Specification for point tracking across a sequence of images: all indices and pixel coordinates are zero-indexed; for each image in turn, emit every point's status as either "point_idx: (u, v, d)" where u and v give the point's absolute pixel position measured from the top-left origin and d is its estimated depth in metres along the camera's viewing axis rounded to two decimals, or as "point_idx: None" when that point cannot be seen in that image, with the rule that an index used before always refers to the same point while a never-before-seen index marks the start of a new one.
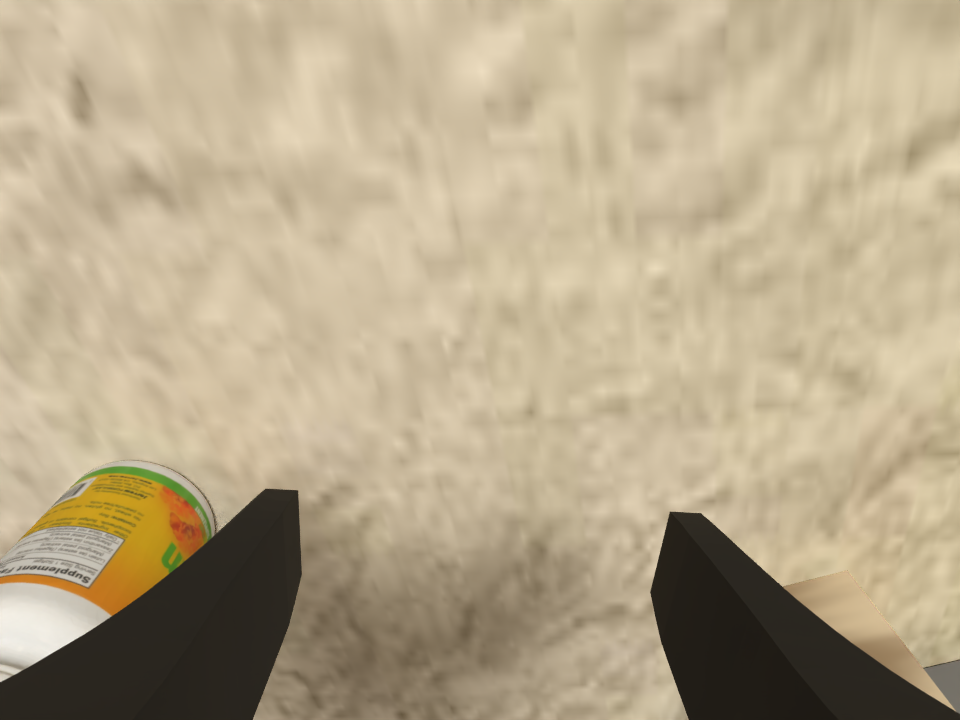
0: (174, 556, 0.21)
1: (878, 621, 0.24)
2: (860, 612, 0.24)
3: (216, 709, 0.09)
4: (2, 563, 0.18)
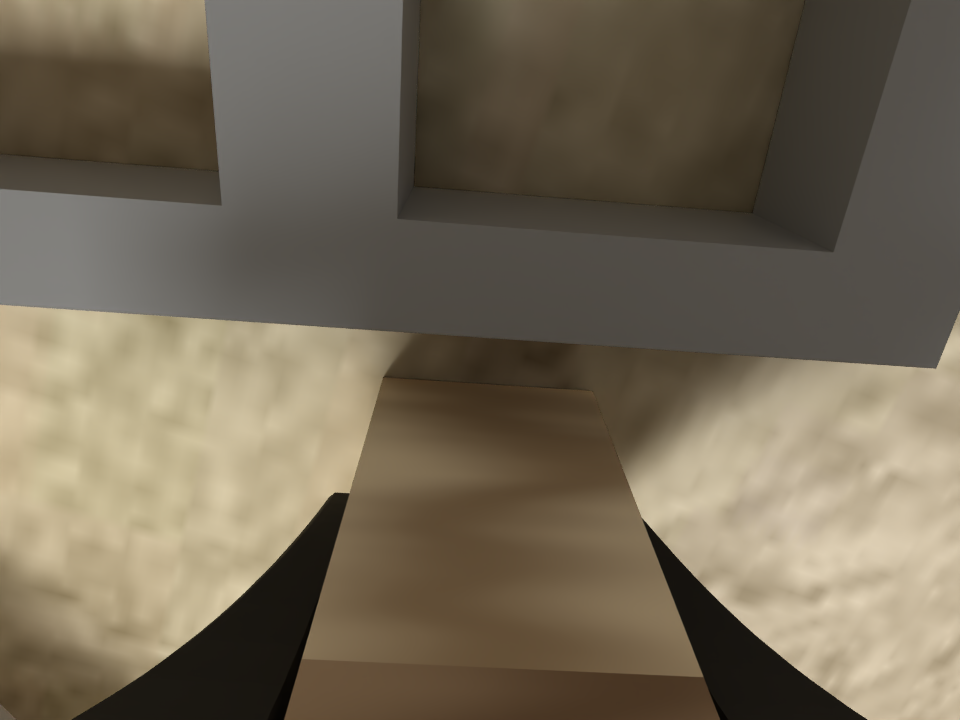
0: None
1: None
2: None
3: None
4: None
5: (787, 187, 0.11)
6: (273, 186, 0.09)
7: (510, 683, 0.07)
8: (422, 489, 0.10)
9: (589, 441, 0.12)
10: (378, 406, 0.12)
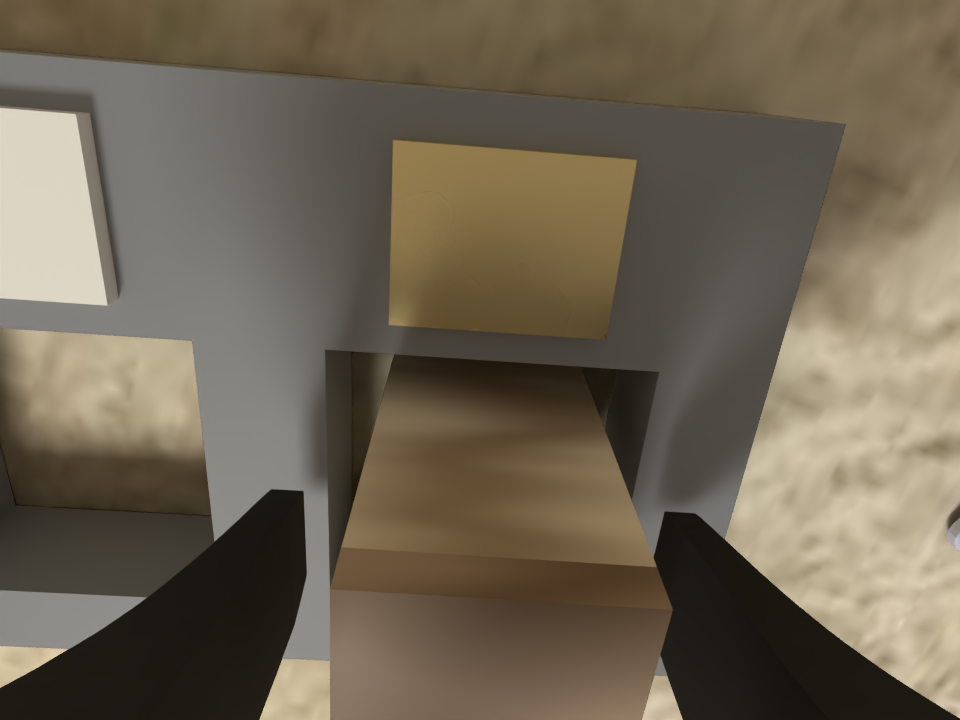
0: None
1: None
2: None
3: (224, 709, 0.09)
4: None
5: None
6: None
7: (504, 567, 0.09)
8: (432, 433, 0.12)
9: (574, 401, 0.14)
10: (392, 370, 0.14)
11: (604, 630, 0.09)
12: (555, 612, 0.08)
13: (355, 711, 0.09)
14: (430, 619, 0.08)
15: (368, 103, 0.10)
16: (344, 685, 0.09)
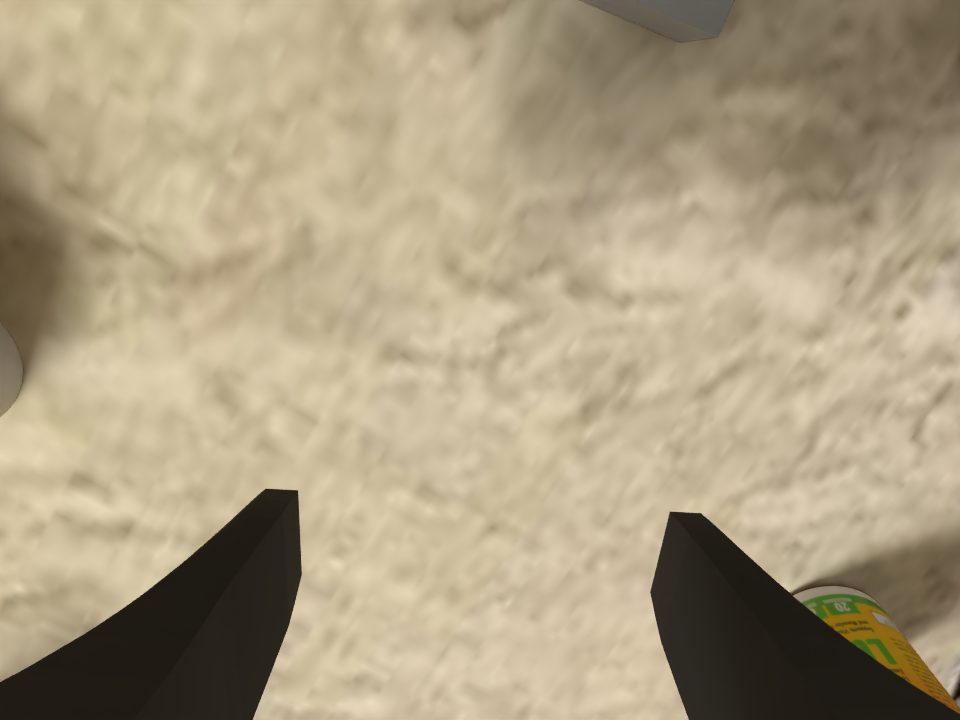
0: None
1: None
2: None
3: (216, 709, 0.09)
4: None
5: None
6: None
7: None
8: None
9: None
10: None
11: None
12: None
13: None
14: None
15: None
16: None
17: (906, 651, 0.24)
